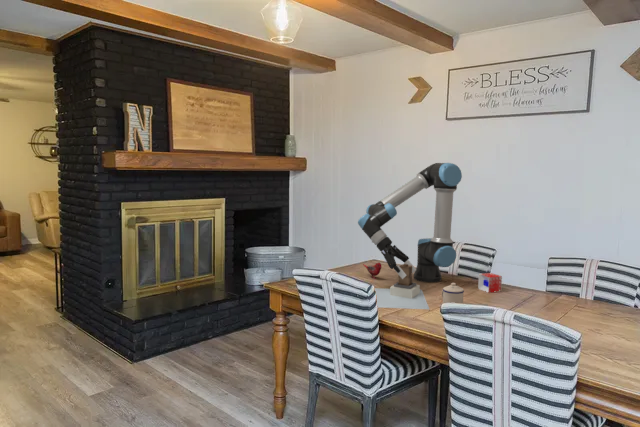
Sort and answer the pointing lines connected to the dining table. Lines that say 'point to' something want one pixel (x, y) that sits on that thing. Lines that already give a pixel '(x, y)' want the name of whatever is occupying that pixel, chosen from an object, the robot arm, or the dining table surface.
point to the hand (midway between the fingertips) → (409, 274)
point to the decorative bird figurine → (374, 269)
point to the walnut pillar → (408, 271)
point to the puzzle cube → (489, 282)
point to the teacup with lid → (452, 293)
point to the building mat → (400, 300)
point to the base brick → (405, 290)
